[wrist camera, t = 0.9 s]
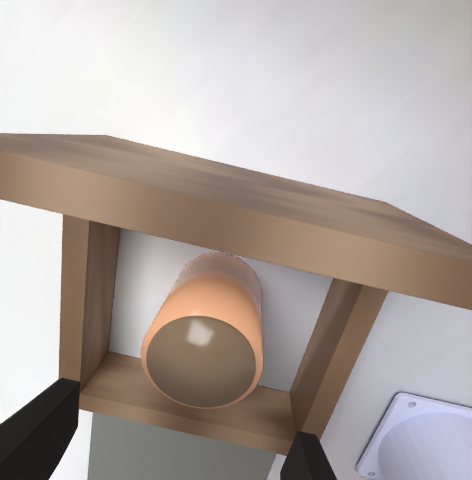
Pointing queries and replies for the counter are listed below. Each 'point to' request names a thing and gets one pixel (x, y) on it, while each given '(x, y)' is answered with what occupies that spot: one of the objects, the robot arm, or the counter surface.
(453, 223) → the counter surface
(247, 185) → the potting tray
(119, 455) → the slate mat
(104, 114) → the counter surface
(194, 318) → the peach orange cylinder
